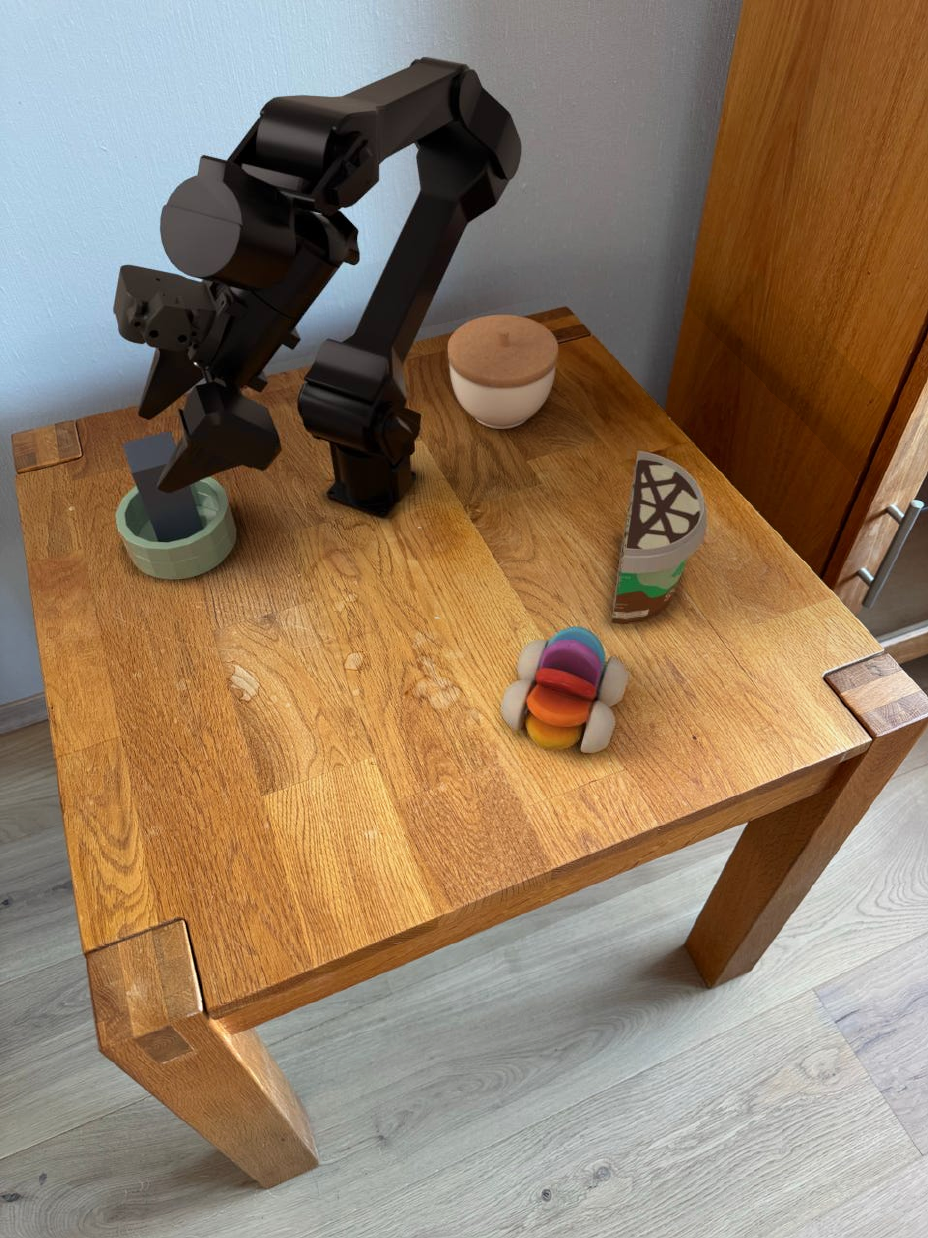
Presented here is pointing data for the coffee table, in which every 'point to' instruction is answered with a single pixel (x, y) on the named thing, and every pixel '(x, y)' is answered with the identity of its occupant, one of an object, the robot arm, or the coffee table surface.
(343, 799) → the coffee table surface
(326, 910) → the coffee table surface
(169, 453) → the block
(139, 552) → the bowl
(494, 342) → the trinket box
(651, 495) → the food container
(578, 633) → the rainbow wheeled toy
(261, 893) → the coffee table surface
